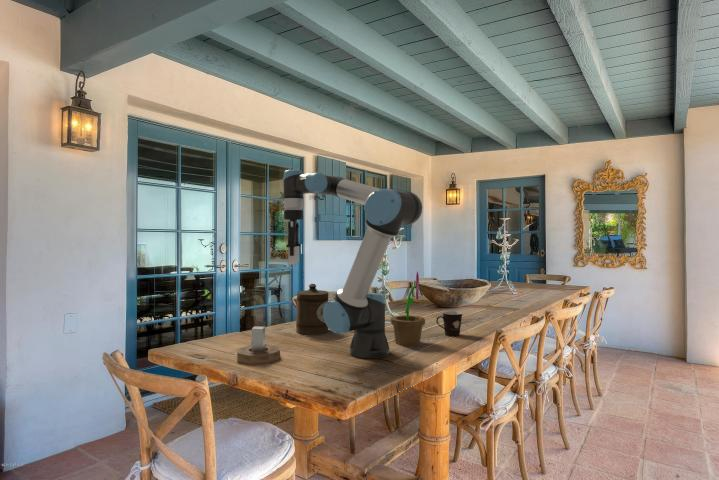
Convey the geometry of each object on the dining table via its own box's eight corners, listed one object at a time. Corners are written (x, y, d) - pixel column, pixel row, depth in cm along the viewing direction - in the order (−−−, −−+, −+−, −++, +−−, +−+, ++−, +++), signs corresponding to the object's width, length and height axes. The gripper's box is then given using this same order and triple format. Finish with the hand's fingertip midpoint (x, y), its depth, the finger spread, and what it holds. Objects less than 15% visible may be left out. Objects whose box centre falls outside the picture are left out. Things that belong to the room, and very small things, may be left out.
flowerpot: (423, 348, 180) (424, 272, 179) (388, 346, 183) (388, 272, 182) (425, 339, 194) (426, 269, 193) (392, 338, 197) (392, 269, 196)
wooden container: (326, 334, 202) (327, 285, 202) (293, 334, 203) (293, 285, 202) (329, 327, 217) (329, 282, 217) (298, 327, 217) (298, 281, 217)
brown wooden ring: (287, 355, 168) (287, 347, 168) (259, 366, 155) (259, 357, 155) (257, 350, 176) (257, 342, 176) (228, 359, 163) (228, 351, 163)
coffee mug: (460, 333, 207) (460, 311, 207) (463, 337, 198) (463, 314, 198) (435, 332, 208) (435, 310, 208) (436, 336, 199) (436, 314, 199)
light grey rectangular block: (265, 356, 168) (265, 326, 167) (262, 359, 164) (262, 328, 163) (254, 356, 168) (254, 326, 167) (251, 359, 164) (251, 328, 163)
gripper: (287, 211, 191) (287, 261, 192) (279, 207, 166) (280, 265, 167) (305, 211, 192) (305, 261, 192) (300, 207, 167) (300, 265, 167)
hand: (293, 263), depth 179 cm, fingers open, 13 cm apart
